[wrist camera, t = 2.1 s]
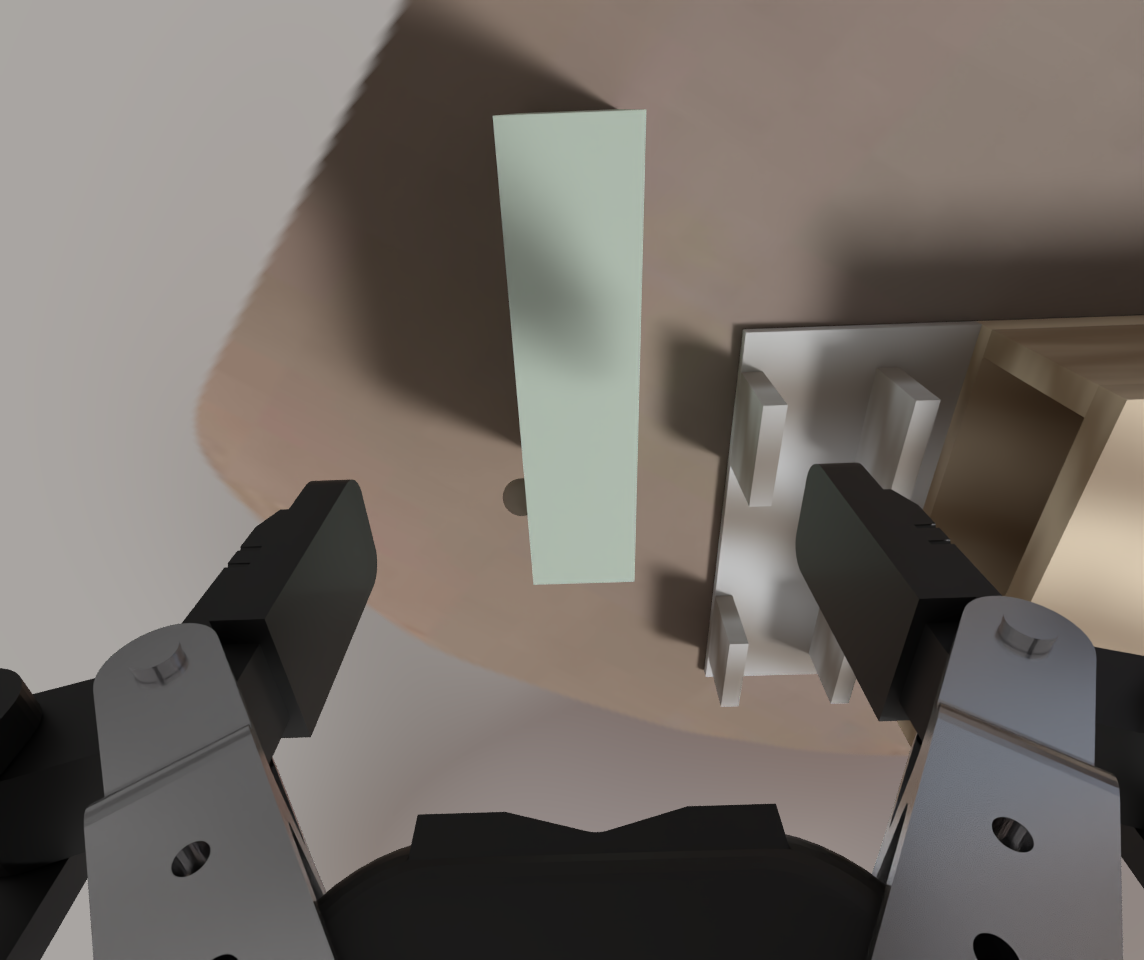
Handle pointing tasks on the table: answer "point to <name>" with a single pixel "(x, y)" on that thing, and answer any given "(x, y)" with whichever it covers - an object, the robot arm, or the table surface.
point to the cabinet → (936, 473)
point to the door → (575, 332)
